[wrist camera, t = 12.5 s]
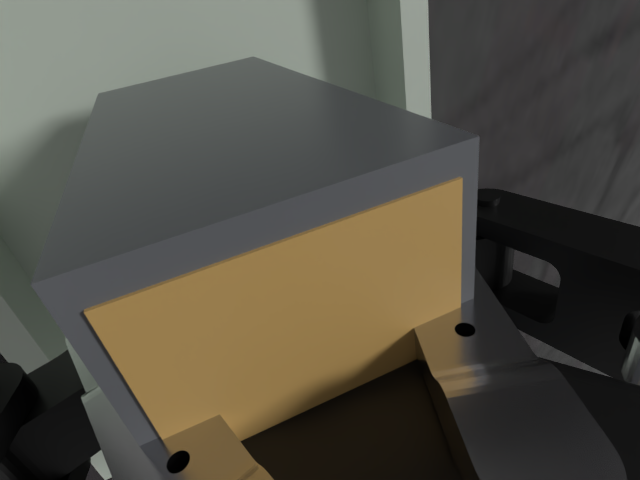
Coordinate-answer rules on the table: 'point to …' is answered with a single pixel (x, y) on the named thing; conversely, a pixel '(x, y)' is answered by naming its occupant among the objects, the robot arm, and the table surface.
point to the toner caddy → (254, 244)
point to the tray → (151, 64)
